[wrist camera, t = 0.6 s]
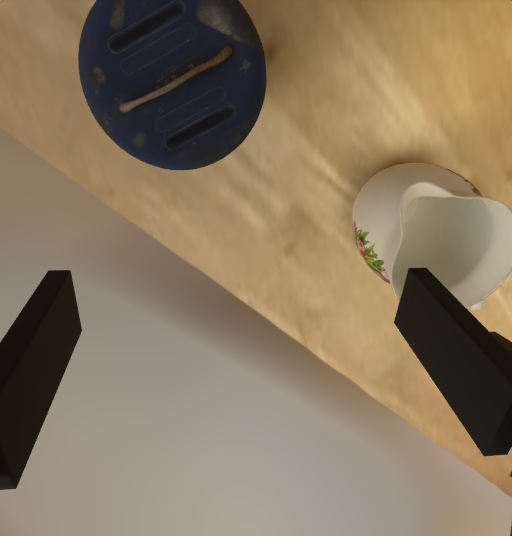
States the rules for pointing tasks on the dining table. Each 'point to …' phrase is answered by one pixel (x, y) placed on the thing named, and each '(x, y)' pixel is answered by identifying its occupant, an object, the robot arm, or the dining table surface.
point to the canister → (173, 77)
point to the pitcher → (433, 230)
